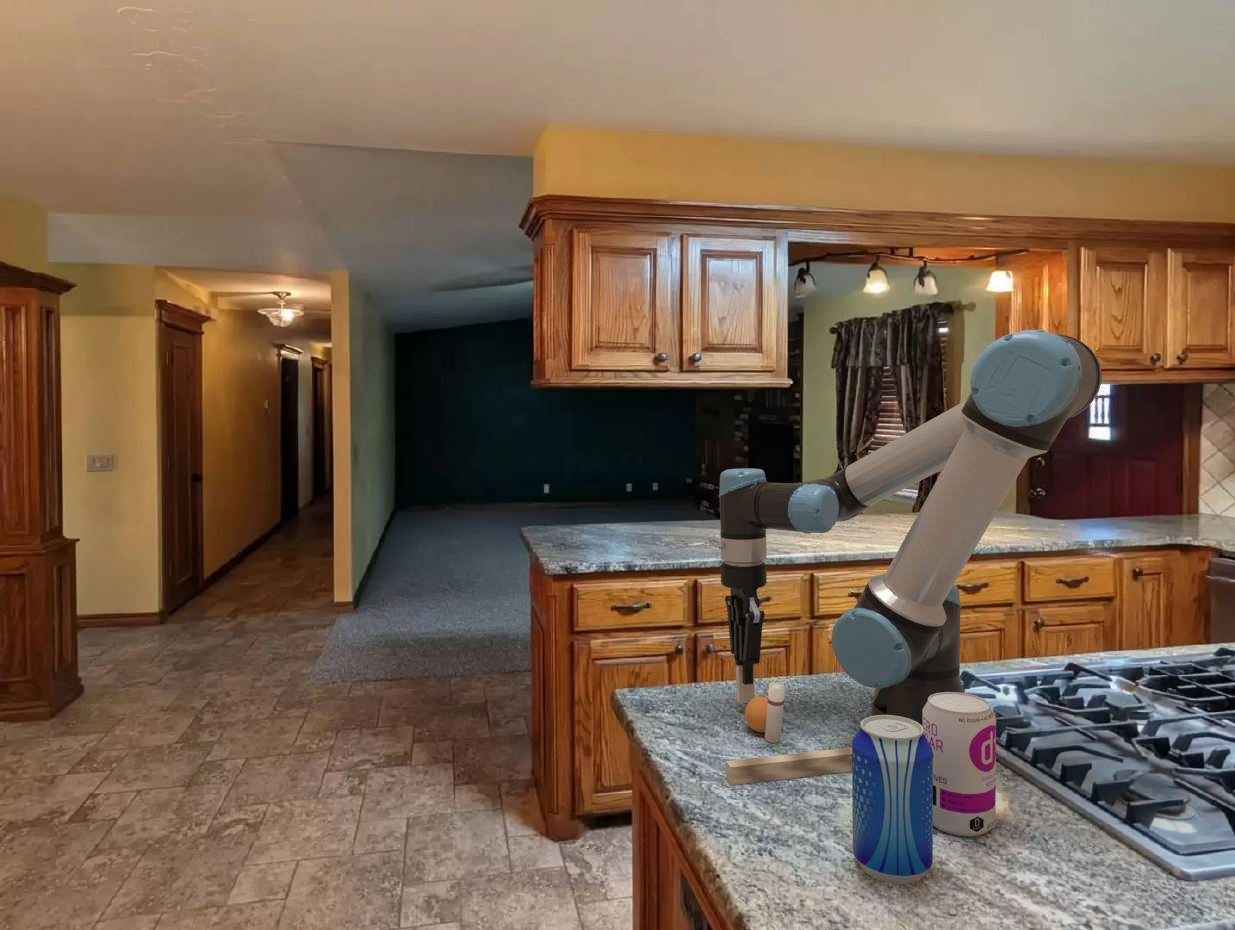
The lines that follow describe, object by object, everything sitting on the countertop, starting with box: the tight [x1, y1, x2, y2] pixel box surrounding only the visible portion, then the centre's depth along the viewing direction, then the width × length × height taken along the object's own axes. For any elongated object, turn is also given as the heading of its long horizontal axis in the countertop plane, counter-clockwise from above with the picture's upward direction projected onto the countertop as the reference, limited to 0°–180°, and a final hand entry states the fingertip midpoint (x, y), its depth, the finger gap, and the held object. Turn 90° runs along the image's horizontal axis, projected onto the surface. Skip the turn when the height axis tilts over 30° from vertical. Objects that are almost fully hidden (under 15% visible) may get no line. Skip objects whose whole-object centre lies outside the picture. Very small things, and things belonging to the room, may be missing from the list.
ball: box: [744, 695, 768, 734], centre depth 130 cm, size 6×6×6 cm
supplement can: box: [922, 692, 997, 837], centre depth 100 cm, size 8×8×15 cm
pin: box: [764, 681, 786, 744], centre depth 125 cm, size 2×2×9 cm
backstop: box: [725, 747, 852, 786], centre depth 115 cm, size 22×2×2 cm, turn 101°
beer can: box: [851, 715, 934, 885], centre depth 91 cm, size 8×8×16 cm
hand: (745, 700), depth 138 cm, fingers closed
